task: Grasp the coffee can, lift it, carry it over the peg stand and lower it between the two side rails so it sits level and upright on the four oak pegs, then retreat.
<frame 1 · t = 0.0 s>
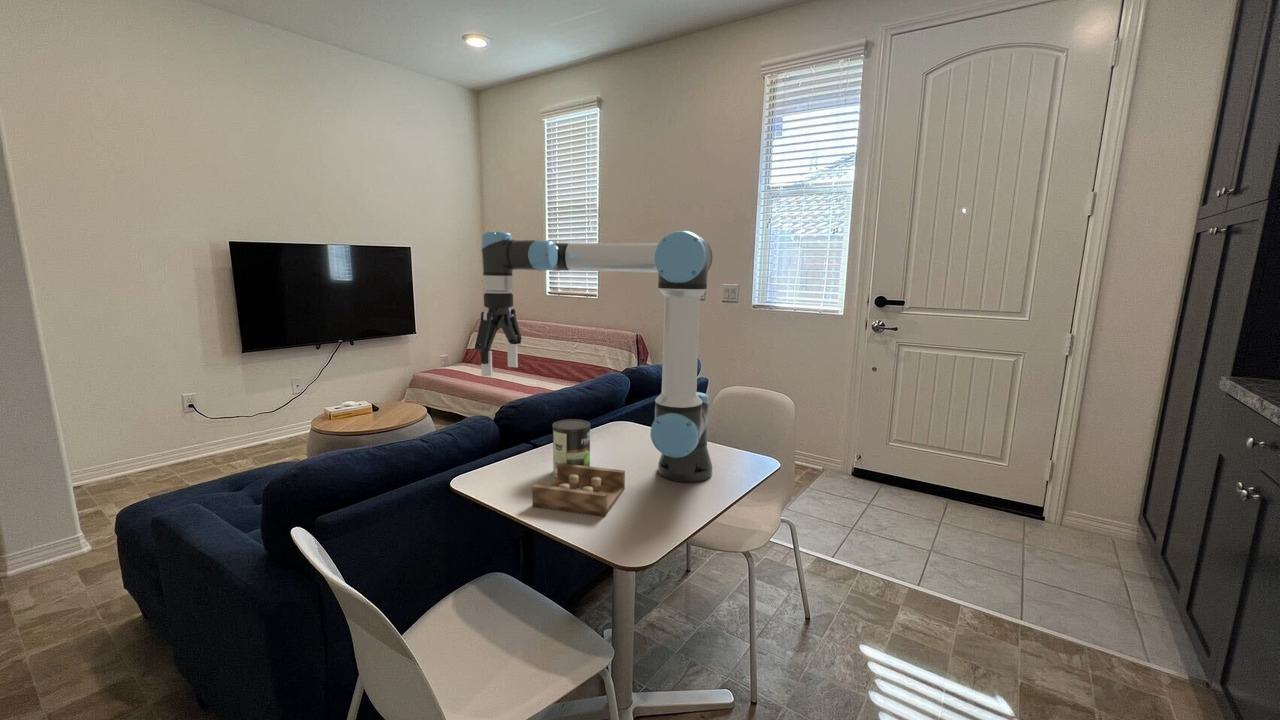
hand: (500, 371, 140), 28 cm above the table, fingers open, 13 cm apart
coffee can: (571, 473, 143), on the table
peg stand: (580, 497, 128), on the table
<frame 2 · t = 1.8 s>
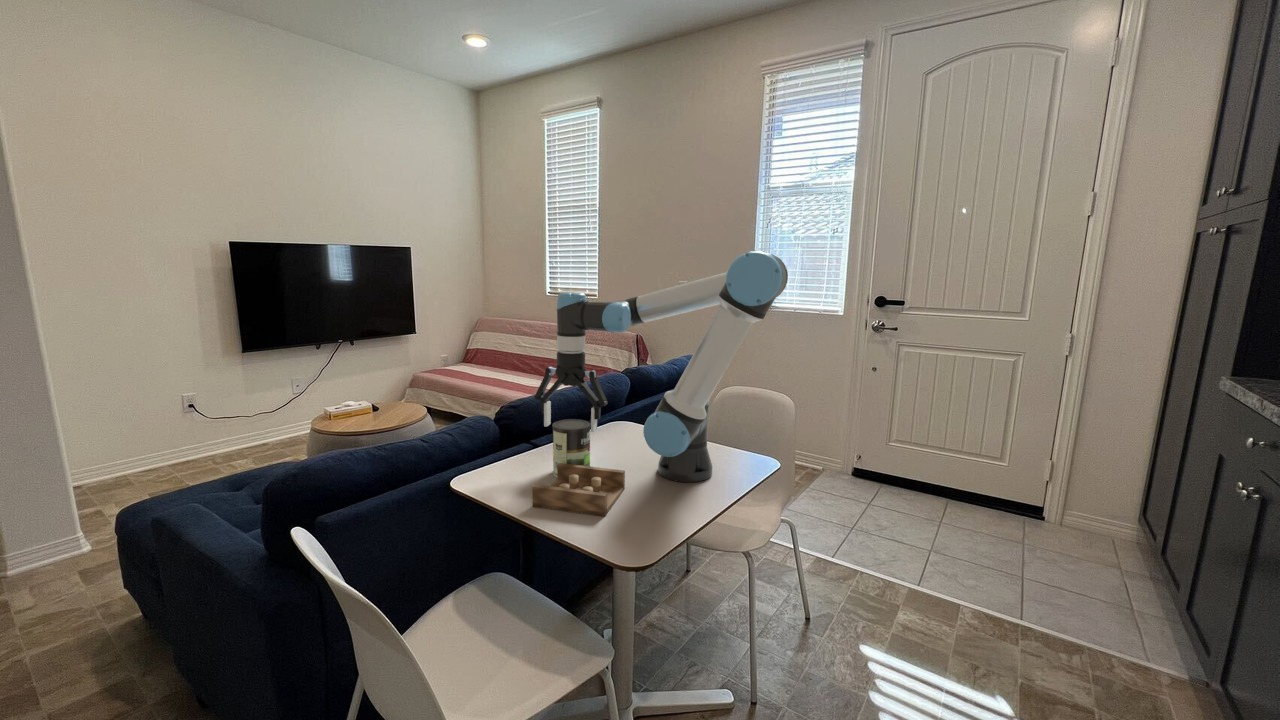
hand: (570, 427, 141), 13 cm above the table, fingers open, 13 cm apart
nothing on the table moved.
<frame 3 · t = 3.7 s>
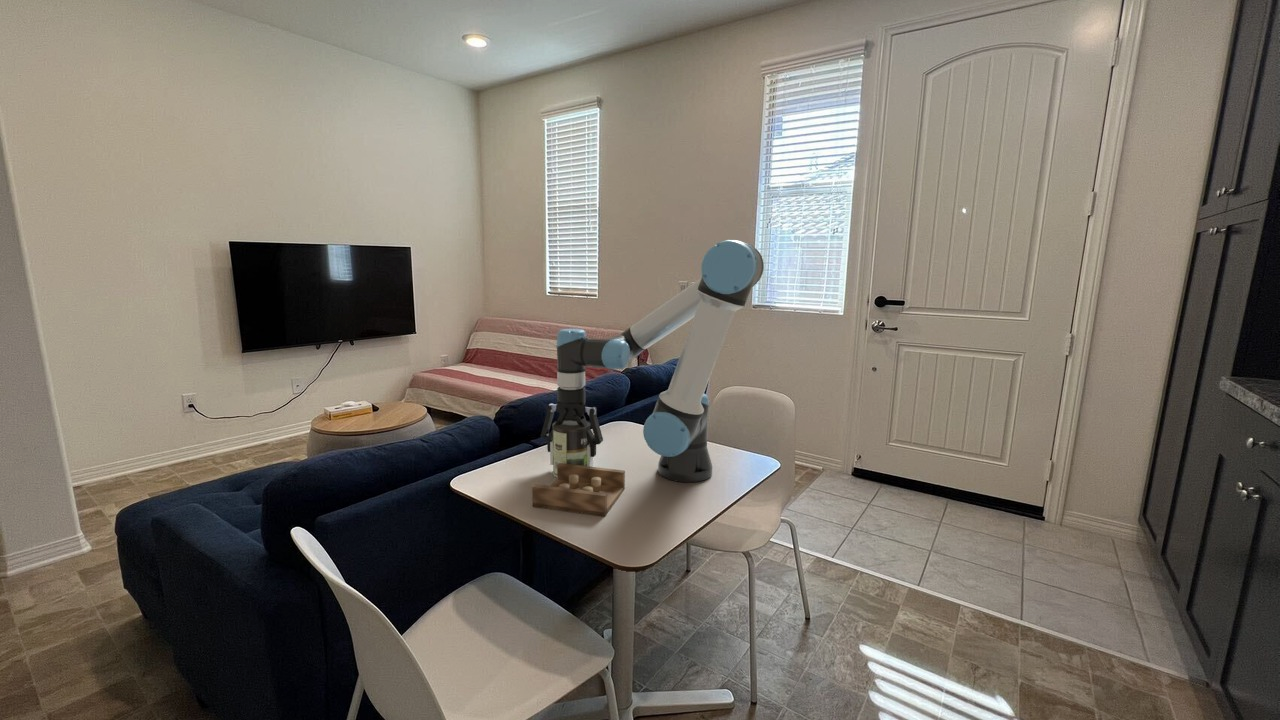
hand: (571, 465, 143), 2 cm above the table, fingers closed on coffee can, 10 cm apart
coffee can: (571, 473, 143), on the table, touching gripper
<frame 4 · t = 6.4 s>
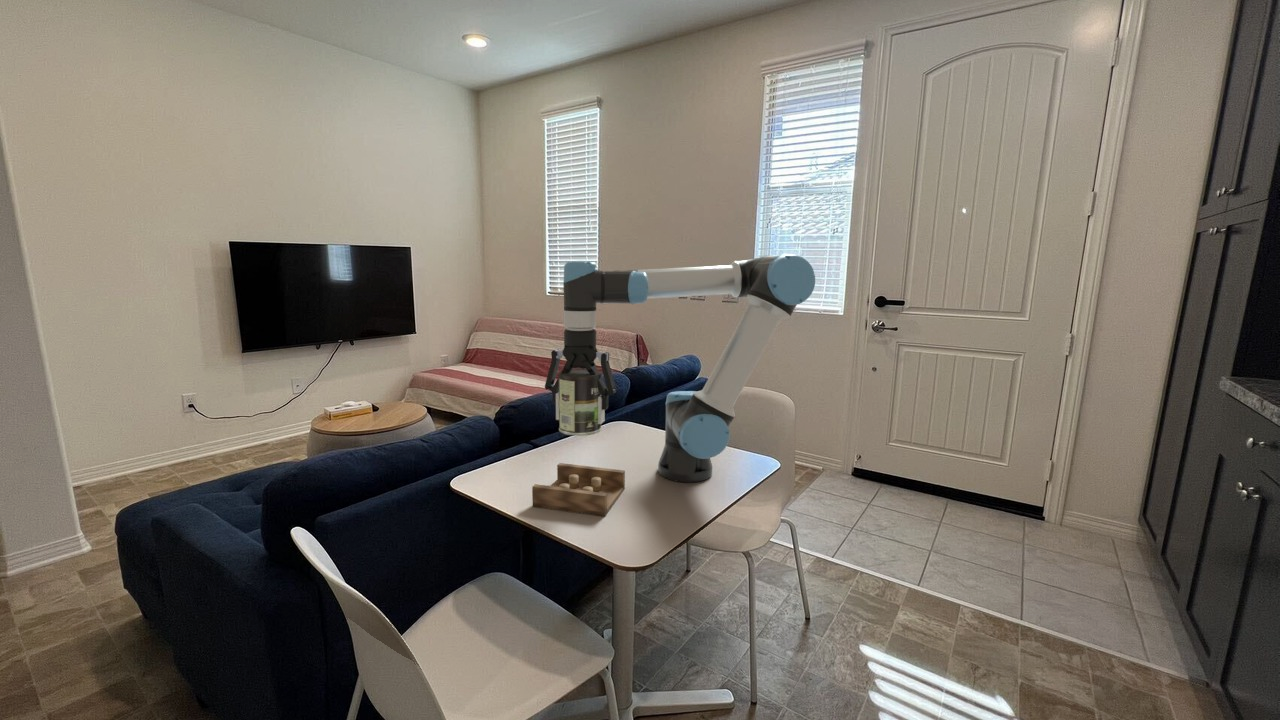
hand: (580, 420, 125), 20 cm above the table, fingers closed on coffee can, 10 cm apart
coffee can: (580, 430, 125), point 17 cm above the table, touching gripper
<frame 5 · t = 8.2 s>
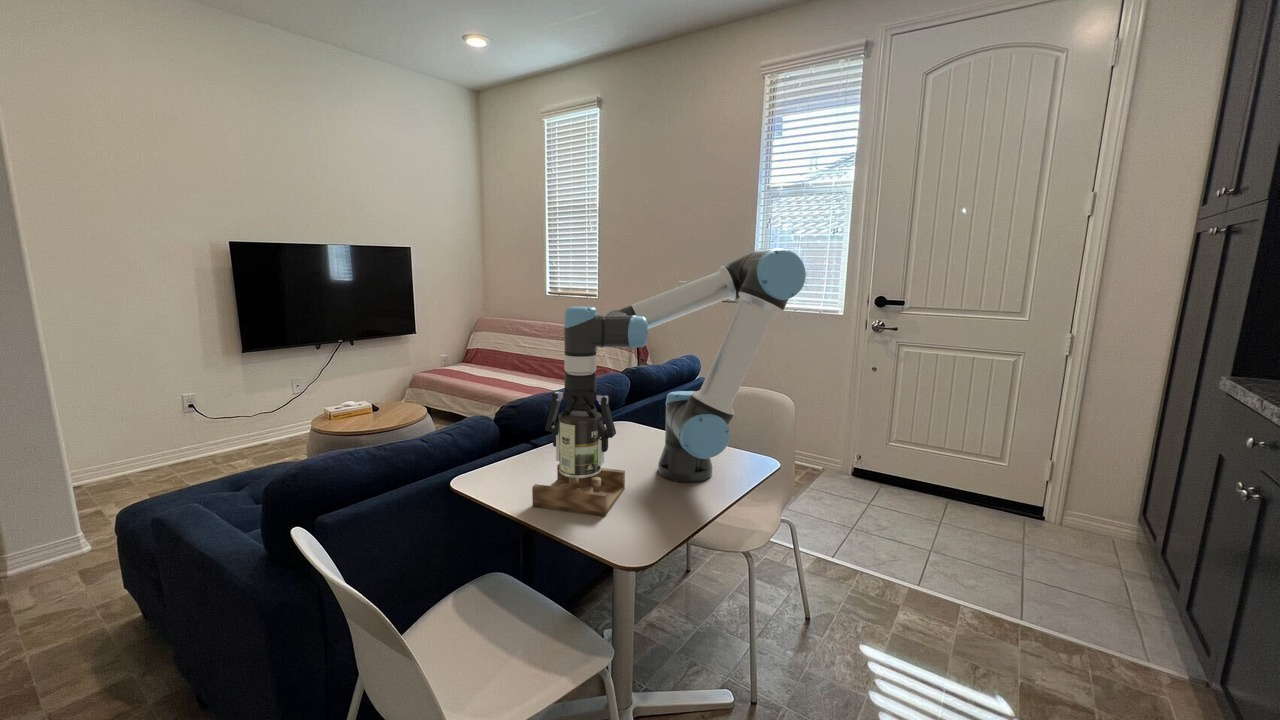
hand: (580, 461, 126), 9 cm above the table, fingers closed on coffee can, 10 cm apart
coffee can: (580, 471, 127), point 7 cm above the table, touching gripper
when the fingers open (8 cm above the table, at t = 9.4 s): coffee can drops 2 cm, resting on peg stand.
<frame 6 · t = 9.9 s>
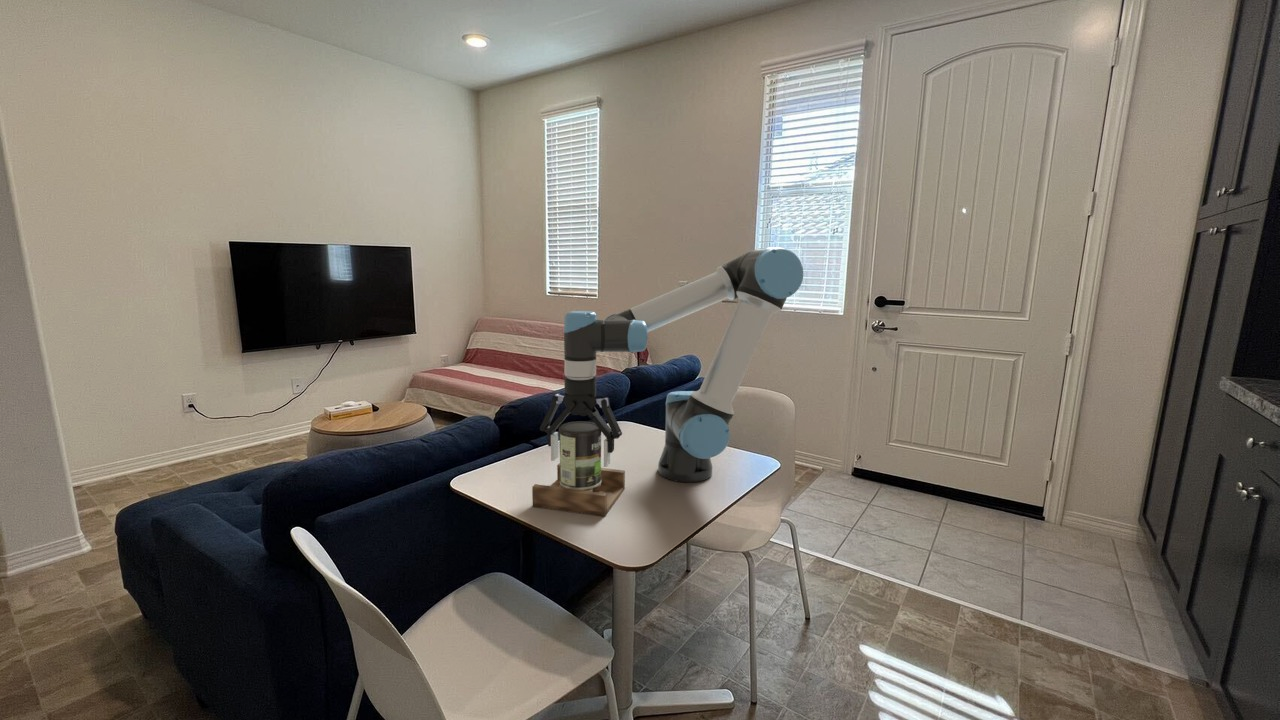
hand: (580, 461, 126), 9 cm above the table, fingers open, 13 cm apart
coffee can: (580, 482, 127), point 4 cm above the table, touching peg stand
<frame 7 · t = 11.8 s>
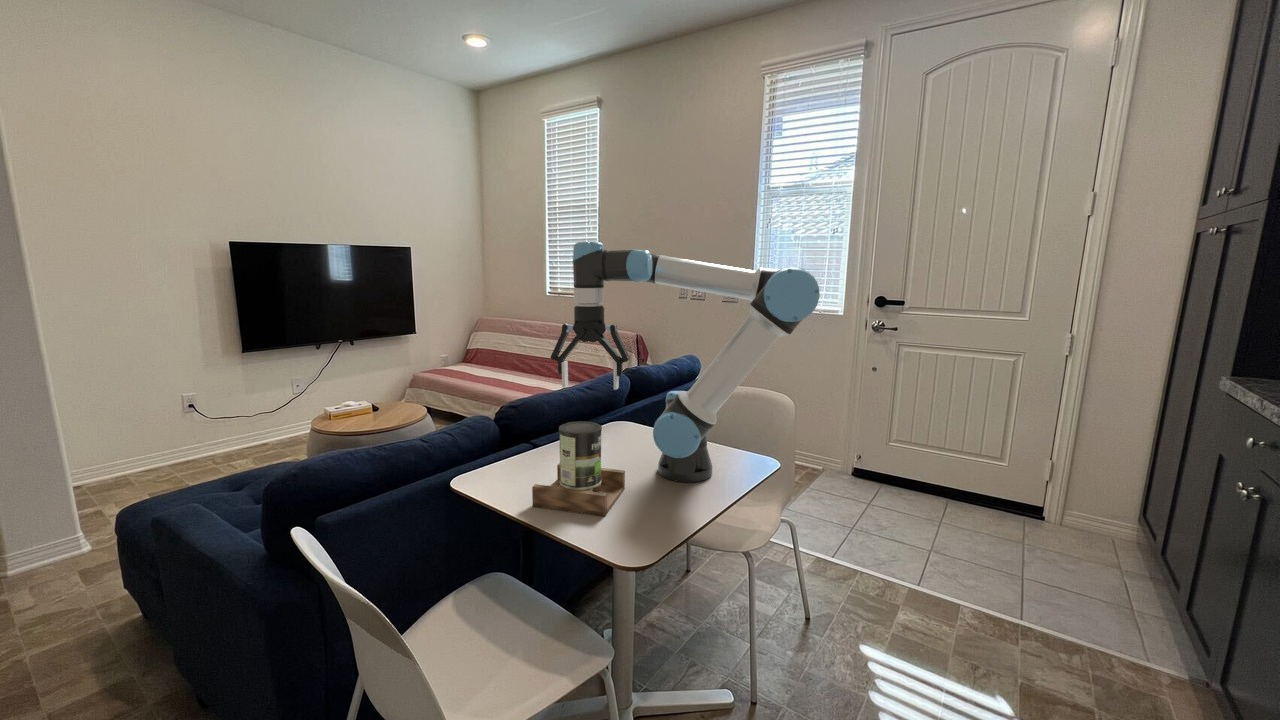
hand: (590, 387, 134), 26 cm above the table, fingers open, 13 cm apart
nothing on the table moved.
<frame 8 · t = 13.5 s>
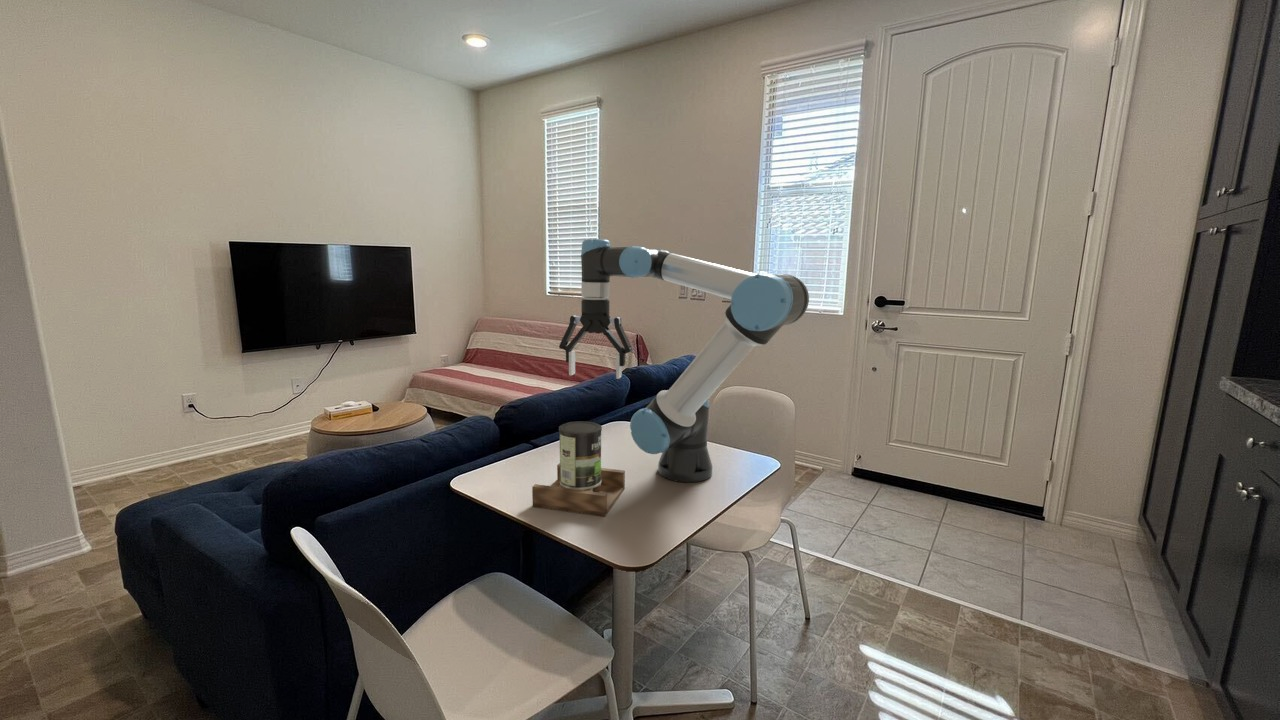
hand: (595, 376, 142), 27 cm above the table, fingers open, 13 cm apart
nothing on the table moved.
at the end: coffee can 0.0 cm off-centre on the peg stand, point 3.8 cm above the peg stand's base; coffee can tilted 0°; the gripper is holding nothing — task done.
